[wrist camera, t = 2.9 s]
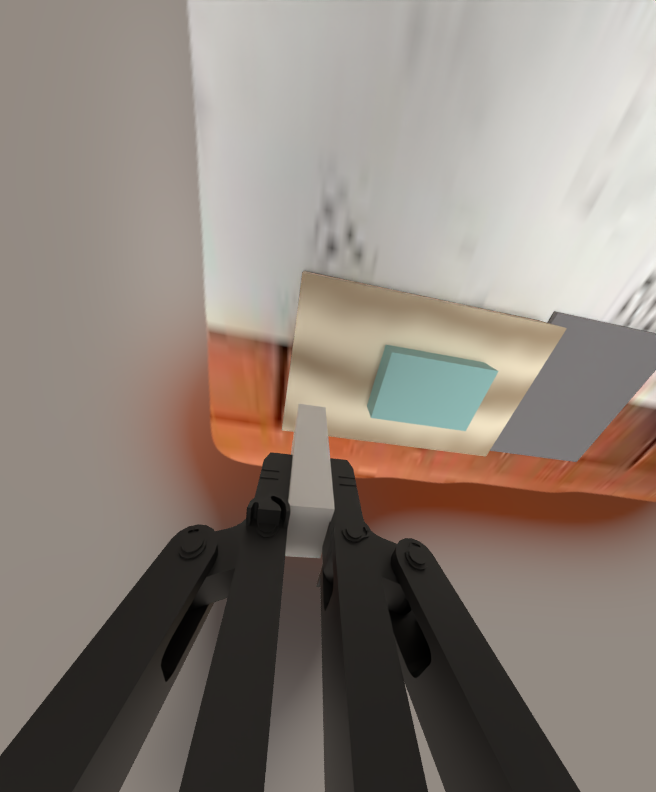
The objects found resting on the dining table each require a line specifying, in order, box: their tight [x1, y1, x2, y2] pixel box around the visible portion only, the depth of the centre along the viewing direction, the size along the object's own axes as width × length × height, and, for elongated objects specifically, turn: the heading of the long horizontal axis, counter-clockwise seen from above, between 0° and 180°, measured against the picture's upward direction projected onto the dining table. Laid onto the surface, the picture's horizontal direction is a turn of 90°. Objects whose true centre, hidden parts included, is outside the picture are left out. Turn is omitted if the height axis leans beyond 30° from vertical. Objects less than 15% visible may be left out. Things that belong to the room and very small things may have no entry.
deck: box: [282, 271, 567, 456], centre depth 24 cm, size 14×22×3 cm, turn 79°
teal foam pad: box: [367, 345, 498, 431], centre depth 22 cm, size 9×6×2 cm, turn 79°
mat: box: [490, 312, 656, 462], centre depth 27 cm, size 16×14×1 cm
